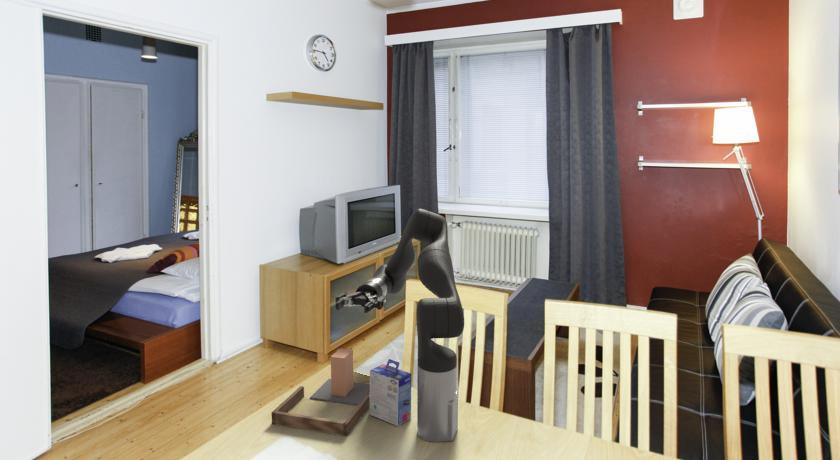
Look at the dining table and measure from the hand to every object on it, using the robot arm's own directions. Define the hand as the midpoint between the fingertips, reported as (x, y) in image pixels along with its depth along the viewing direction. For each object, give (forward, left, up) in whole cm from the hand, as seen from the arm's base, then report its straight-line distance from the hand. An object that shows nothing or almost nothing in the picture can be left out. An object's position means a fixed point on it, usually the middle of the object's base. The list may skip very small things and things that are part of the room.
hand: (351, 308), depth 157 cm
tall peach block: (0, +7, -22) cm, 23 cm away
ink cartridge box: (-17, +16, -22) cm, 32 cm away
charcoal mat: (0, +7, -22) cm, 23 cm away
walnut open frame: (0, +20, -22) cm, 30 cm away
